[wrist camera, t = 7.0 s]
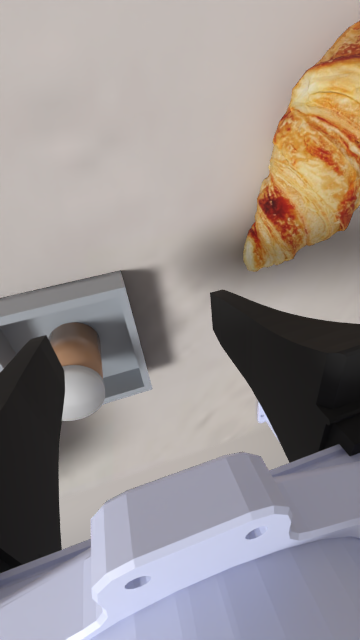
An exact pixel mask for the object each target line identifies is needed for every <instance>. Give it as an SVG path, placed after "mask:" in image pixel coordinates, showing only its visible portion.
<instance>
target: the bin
mask: <svg viewBox="0 0 360 640" xmlns="http://www.w3.org/2000/svg"><path fill="white" fill-rule="evenodd" d="M72 322H77V323H83V324H86V325H88V326H90V327H92V328H93V329H94V330H95V331H96V332H97V333H98V335H99V337H100V344H101V358H102V371H103V381H104V387H105V399H104V402H103V404H106V403H109V402H112V401H116V400H119V399H122V398H125V397H129V396H132V395H135V394H138V393H142V392H145V391H148V390H152V385H151V382H150V378H149V374H148V370H147V367H146V363H145V359H144V356H143V352H142V348H141V344H140V341H139V337H138V333H137V329H136V326H135V322H134V318H133V314H132V311H131V307H130V303H129V300H128V296H127V292H126V288H125V285H124V281H123V277H122V274H121V271H117V272H112V273H108V274H104V275H99V276H95V277H90V278H86V279H82V280H77V281H73V282H69V283H64V284H60V285H56V286H51V287H47V288H43V289H38V290H34V291H30V292H25V293H21V294H17V295H12V296H8V297H4V298H0V372H1V371H2V370H3V369H4V368H5V367H6V366H7V365H8V363H9V362H10V361H11V360H12V359H13V358H14V357H15V356H16V354H17V353H18V352H19V351H20V350H21V349H22V348H23V346H24V345H25V344H26V343H27V342H28V341H29V340H30V339H33V338H36V337H40V336H44V335H47V337H49V335H50V333H51V332H52V331H53V330H54V329H55V328H57V327H58V326H60V325H62V324H66V323H72ZM103 404H102V405H103Z"/></svg>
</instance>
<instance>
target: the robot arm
mask: <svg viewBox="0 0 360 640" xmlns="http://www.w3.org/2000/svg"><path fill="white" fill-rule="evenodd" d="M210 297H211V310H212V324H213V330H214V332H215V334H216V336H217V338H218V340H219V342H220V344H221V346H222V347H223V349H224V350H225V352H226V353H227V355H228V356H229V357H230V359H231V360H232V362H233V363H234V364H235V366H236V367H237V368H238V370H239V371H240V373H241V374H242V375H243V377H244V378H245V380H246V381H247V383H248V384H249V386H250V387H251V389H252V391H253V392H254V394H255V396H256V398H257V400H258V414H257V421H258V422H259V423H263V422H267V424H268V425H269V427H270V428H271V430H272V431H273V433H274V435H275V436H276V437H277V439H278V441H279V442H280V444H281V446H282V447H283V450H284V452H285V454H286V456H287V458H288V460H289V462H290V463H288V464H286V465H283V466H280V467H277V468H275V469H272V470H270V471H269V470H268V468H267V467H266V465H265V463H264V461H263V459H262V458H261V456H258V455H253V454H249V453H245V452H239V453H234V454H229V455H224V456H221V457H218V458H216V459H213V460H210V461H207V462H204V463H202V464H199V465H196V466H193V467H191V468H188V469H185V470H182V471H180V472H177V473H174V474H171V475H168V476H166V477H163V478H160V479H158V480H155V481H152V482H149V483H146V484H144V485H141V486H138V487H135V488H133V489H130V490H127V491H125V492H123V493H121V494H119V495H117V496H115V497H113V498H112V499H110V500H108V501H106V502H105V504H104V505H103V506H102V507H101V508H100V509H99V510H98V511H97V513H96V514H95V515H94V516H93V517H92V518H91V539H89V540H86V541H84V542H81V543H78V544H76V545H73V546H71V547H68V548H65V549H63V550H62V549H61V535H60V514H59V479H58V460H59V439H60V430H61V422H62V414H63V406H64V397H65V373H64V369H63V367H62V365H61V363H60V361H59V359H58V357H57V355H56V353H55V351H54V349H53V347H52V345H51V343H50V341H49V339H48V337H47V335H44V336H40V337H36V338H33V339H30V340H29V341H28V342H27V343H26V344H25V345H24V346H23V348H22V349H21V350H20V351H19V352H18V353H17V354H16V356H15V357H14V358H13V359H12V360H11V361H10V362H9V363H8V365H7V366H6V367H5V368H4V369H3V370H2V371H1V372H0V640H360V324H351V323H340V322H332V321H324V320H318V319H312V318H307V317H302V316H298V315H294V314H290V313H286V312H282V311H279V310H276V309H273V308H270V307H267V306H264V305H261V304H258V303H256V302H253V301H251V300H248V299H246V298H243V297H241V296H238V295H236V294H234V293H231V292H228V291H226V290H220V291H216V292H212V293H210Z"/></svg>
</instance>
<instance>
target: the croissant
mask: <svg viewBox="0 0 360 640" xmlns="http://www.w3.org/2000/svg"><path fill="white" fill-rule="evenodd" d="M273 143H274V147H273V152H272V157H271V160H270V165H269V167H268V168H269V169H270V174H269V176H268V178H265V179H264V181H263V182H262V185H261V189H260V194H259V196H258V198H257V203H258V204H257V212H256V214H255V221H256V222H255V223H254V224H253V225H252V228H251V229H250V230H249V232H248V235H247V239H246V243H245V246H244V251H243V261H244V263H245V265H246V267H247V269H248V270H249V271H253V272H257V271H258V270H259V269H260V268H263V267H270V266H272V265H274V264H275V265H278V264H281V263H283V262H284V261H289V260H291V259H293V258H294V256H295V254H296V252H297V251H298V250H300V249H301V248H302V247H304V246H306V245H308V246H310V245H314V244H315V243H318V242H320V241H324V240H327V239H329V238H330V237H331V236H332V235H333V234H335V233H336V232H337V231H344V230H345V229H346V228H347V227H348V224H349V222H350V220H351V217H352V214H353V212H354V211H355V210H356V209H357V208H358V206H359V205H360V21H359V22H357V23H355V24H354V25H352V26H350V27H349V28H348V29H347V30H346V31H345V32H344V33H343V34H342V35H341V36H340V37H339V38H338V39H337V40H336V42H335V43H334V44H333V46H332V47H331V48H330V49H329V50H328V51H327V52H326V54H325V55H324V56H323V57H322V59H321V60H320V61H319V62H318V63H316V64H315V65H314V66H313V67H311V68H310V69H308V70H307V71H306V72H305V73H304V75H303V76H302V77H301V79H300V80H299V81H298V83H297V84H296V86H295V87H294V88H293V90H292V97H291V101H290V104H289V107H288V109H287V112H286V113H285V115H284V116H283V117H282V119H281V120H280V122H279V125H278V128H277V130H276V133H275V136H274V138H273Z"/></svg>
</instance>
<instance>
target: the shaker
mask: <svg viewBox="0 0 360 640" xmlns="http://www.w3.org/2000/svg"><path fill="white" fill-rule="evenodd" d="M48 339H49V341H50V343H51V345H52V347H53V349H54V351H55V353H56V355H57V357H58V359H59V361H60V363H61V365H62V367H63V369H64V373H65V397H64V406H63V414H62V421H73V420H79V419H82V418H85V417H87V416H90V415H91V414H93V413H94V412H96V411H97V410H98V409H99V408H100V407H101V405H102V404H103V402H104V399H105V387H104V381H103V371H102V358H101V344H100V337H99V335H98V333H97V332H96V331H95V330H94V329H93V328H92V327H90V326H88V325H86V324H83V323H77V322H72V323H66V324H62V325H60V326H58V327H57V328H55V329H54V330H53V331H52V332H51V333H50V335H49V337H48Z"/></svg>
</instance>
